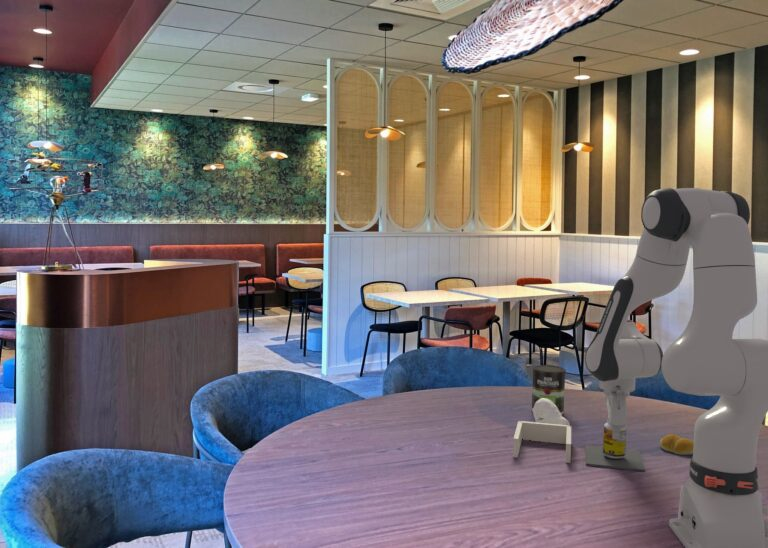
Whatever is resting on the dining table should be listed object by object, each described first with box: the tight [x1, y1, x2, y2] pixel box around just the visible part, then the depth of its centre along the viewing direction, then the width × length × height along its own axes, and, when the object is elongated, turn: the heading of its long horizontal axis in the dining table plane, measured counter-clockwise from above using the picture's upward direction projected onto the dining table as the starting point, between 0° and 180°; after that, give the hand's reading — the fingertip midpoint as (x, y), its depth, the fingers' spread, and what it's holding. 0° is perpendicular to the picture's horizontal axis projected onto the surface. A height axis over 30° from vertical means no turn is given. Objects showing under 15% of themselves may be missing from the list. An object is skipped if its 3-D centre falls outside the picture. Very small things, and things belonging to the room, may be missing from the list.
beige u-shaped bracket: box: [512, 420, 572, 464], centre depth 180 cm, size 16×14×5 cm
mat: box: [584, 445, 646, 472], centre depth 174 cm, size 14×14×1 cm
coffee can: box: [531, 364, 567, 415], centre depth 215 cm, size 10×10×14 cm
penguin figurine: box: [532, 398, 571, 426], centre depth 197 cm, size 6×8×12 cm
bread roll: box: [659, 433, 694, 456], centre depth 181 cm, size 8×9×4 cm
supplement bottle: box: [602, 415, 628, 459], centre depth 173 cm, size 6×6×10 cm
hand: (614, 434), depth 173 cm, fingers closed on supplement bottle, 5 cm apart
